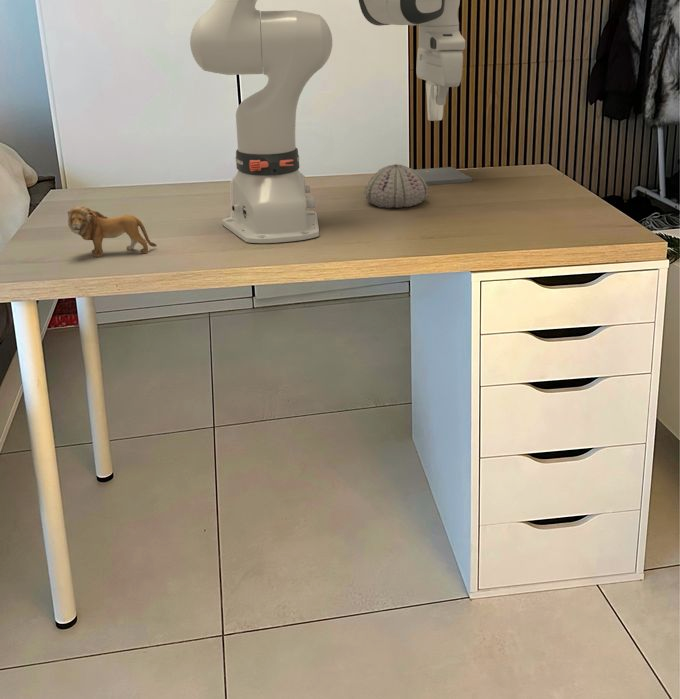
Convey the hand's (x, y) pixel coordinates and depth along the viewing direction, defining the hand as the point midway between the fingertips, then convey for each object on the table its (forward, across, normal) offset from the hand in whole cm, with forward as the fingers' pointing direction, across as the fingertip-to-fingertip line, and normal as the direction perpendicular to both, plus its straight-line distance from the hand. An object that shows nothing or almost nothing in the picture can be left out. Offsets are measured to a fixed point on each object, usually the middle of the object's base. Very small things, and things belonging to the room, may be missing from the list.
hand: (436, 103), depth 207 cm
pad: (+17, 0, 0) cm, 17 cm away
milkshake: (+4, 0, 0) cm, 4 cm away
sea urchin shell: (+18, +20, -16) cm, 31 cm away
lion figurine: (+18, +40, -74) cm, 86 cm away
